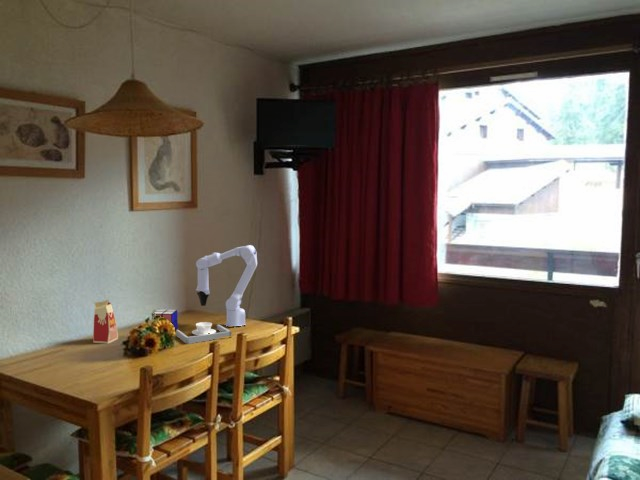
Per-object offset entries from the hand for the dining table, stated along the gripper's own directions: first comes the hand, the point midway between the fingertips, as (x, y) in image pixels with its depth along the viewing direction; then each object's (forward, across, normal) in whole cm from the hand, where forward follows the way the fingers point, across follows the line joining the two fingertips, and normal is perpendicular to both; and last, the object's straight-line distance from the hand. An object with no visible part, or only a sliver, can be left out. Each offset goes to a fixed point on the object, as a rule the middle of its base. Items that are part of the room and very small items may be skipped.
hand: (203, 305), depth 287 cm
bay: (+10, +22, -8) cm, 26 cm away
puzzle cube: (+11, +2, -21) cm, 24 cm away
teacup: (+11, +18, -6) cm, 22 cm away
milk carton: (+11, +6, -51) cm, 52 cm away
